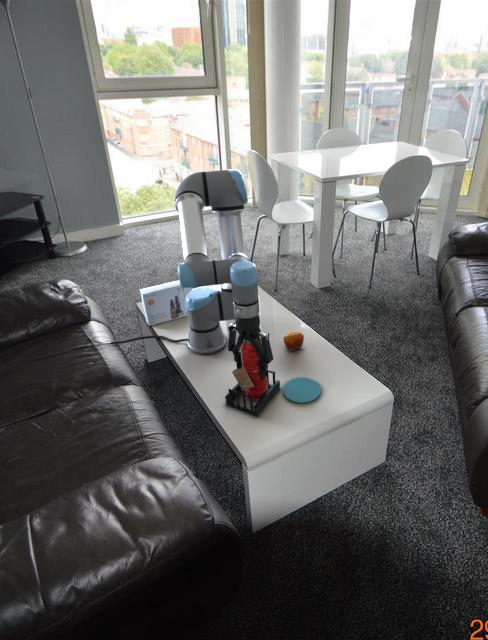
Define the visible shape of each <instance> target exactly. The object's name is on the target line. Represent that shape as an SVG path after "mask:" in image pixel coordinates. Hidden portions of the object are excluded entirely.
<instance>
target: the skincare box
mask: <svg viewBox="0 0 488 640" xmlns="http://www.w3.org/2000/svg"><path fill="white" fill-rule="evenodd" d="M192 290H193V288H183V287H182V286H181V285H180V281H179V279H178V280H174V281H170V282H165V283H161V284H156V285H152V286H149V287H144V288H140V289H139V293H140V296H141V303H142V307H143V311H144V316H145V321H146V324H147V325H148V326H149V327H151V326H155V325H158V324H162V323H166V322H169V321H173V320H177V319H180V318H184V317H188V312H187V309H186V296H187V294H188V293H189V292H191V291H192Z"/></svg>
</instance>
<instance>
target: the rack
mask: <svg viewBox="0 0 488 640" xmlns="http://www.w3.org/2000/svg"><path fill="white" fill-rule="evenodd" d="M266 373H267V383H268V389H267V392H266V393H265V394H264V396H263V397H262V398H261V399H260V400H257V402H256V403H255V404H254V400H252V399H253V397H251V396H248V395H247V394H246V393H243V392H244V391H242V389H241V387H240V386H239V384H238V383H237V384H236V385H234V386H233V387H232V389H231V388H228V389H227V391H228V392H227V393H226V395H224V398H225V399H224V400H225V406H227V407H229V408H232V409H234V410H237V411H240V412H242V413H245V414H247V415H251V416H252V417H256V418H257V417H258V416H259V415H260V414H261V413H262V412H263V411H264V409H265V408H266V407H267V406H268V404H270V402H271V401H272V400H273V398H274V397H276V395H277V394H278V393H279V392H280V391H281V380H279V379H276V372H275V371H273V370H270V369H269V368H268V369H267V370H266ZM269 373H270V374H271V375H272V384H271V383H270V379H269V377H270V376H269ZM240 396H241V398H242V406H241V405H240ZM246 399H249V409H248V408H247V400H246ZM234 401H236V404H235V403H234Z"/></svg>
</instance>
